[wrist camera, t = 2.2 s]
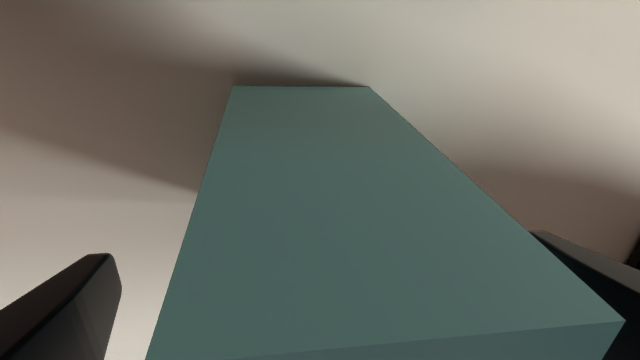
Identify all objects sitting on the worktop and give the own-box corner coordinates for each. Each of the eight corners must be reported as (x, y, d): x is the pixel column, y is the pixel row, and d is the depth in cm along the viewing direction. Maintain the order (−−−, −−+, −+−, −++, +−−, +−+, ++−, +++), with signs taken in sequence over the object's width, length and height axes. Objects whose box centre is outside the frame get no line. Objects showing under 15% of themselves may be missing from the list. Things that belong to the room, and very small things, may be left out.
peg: (357, 201, 14) (500, 522, 6) (241, 205, 14) (203, 575, 5) (369, 87, 12) (625, 320, 4) (232, 85, 12) (143, 367, 3)
